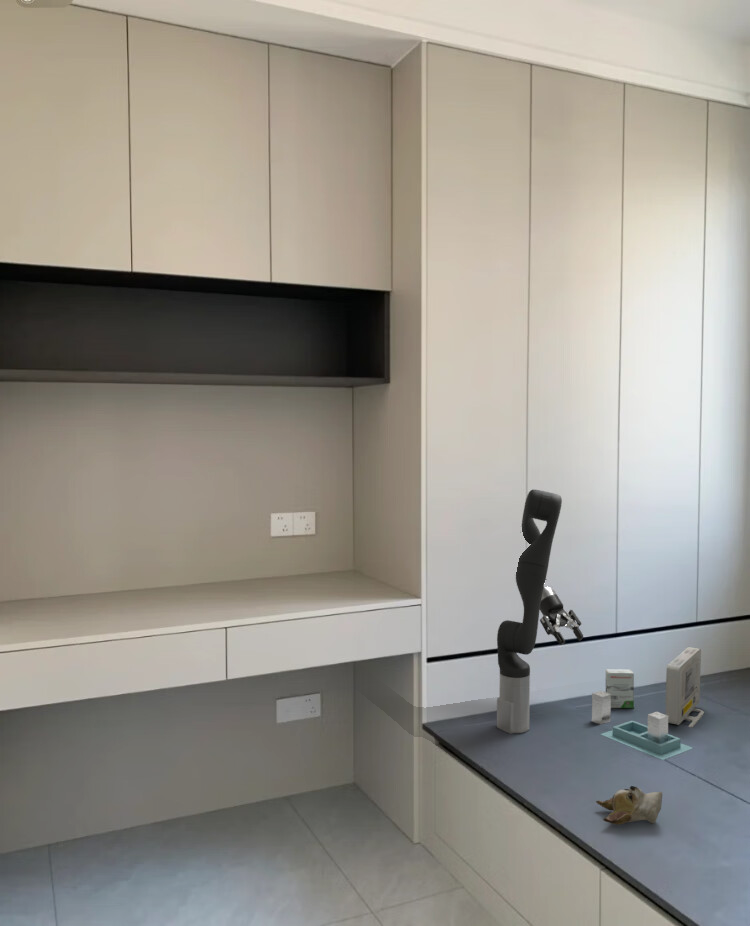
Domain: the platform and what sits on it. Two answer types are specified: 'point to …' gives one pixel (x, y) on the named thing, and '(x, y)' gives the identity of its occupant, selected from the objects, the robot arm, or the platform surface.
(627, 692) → the ink box
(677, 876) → the platform surface
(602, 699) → the block
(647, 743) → the teal flat tray
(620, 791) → the ceramic sculpture
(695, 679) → the network device
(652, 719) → the block
